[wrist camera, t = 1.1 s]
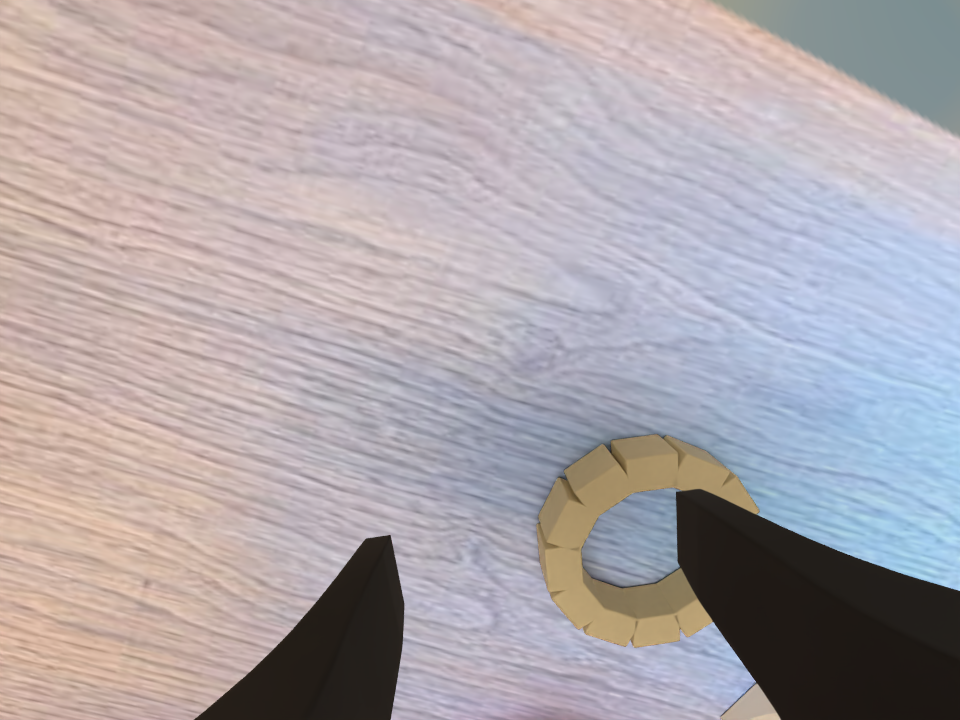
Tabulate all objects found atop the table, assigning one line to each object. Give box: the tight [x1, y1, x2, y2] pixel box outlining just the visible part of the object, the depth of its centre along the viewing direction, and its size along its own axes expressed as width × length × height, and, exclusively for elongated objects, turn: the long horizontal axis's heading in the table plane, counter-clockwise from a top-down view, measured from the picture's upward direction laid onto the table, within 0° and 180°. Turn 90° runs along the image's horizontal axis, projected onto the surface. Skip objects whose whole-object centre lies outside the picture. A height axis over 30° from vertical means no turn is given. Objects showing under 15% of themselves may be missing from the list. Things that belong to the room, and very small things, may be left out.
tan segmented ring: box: [536, 434, 760, 648], centre depth 21 cm, size 10×10×2 cm
